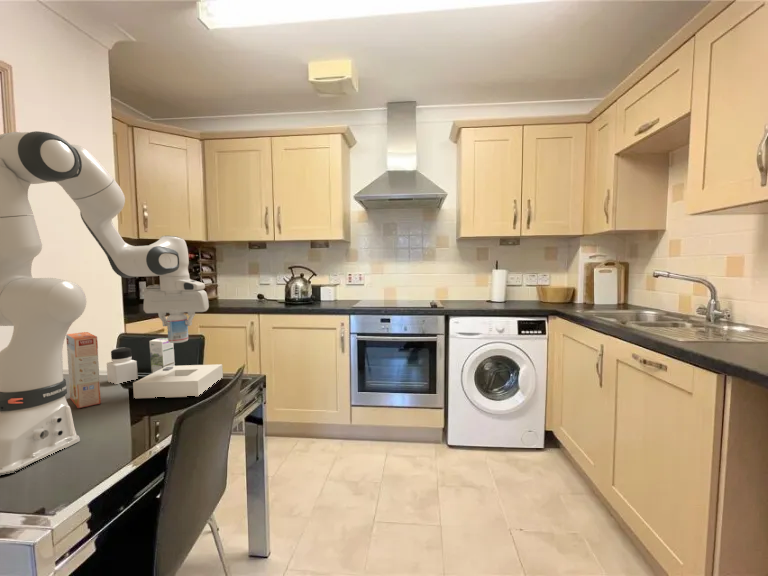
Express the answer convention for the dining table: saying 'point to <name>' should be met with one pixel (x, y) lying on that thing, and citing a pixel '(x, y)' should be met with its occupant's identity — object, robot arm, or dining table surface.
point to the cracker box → (83, 369)
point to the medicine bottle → (121, 366)
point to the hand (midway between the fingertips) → (177, 325)
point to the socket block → (178, 381)
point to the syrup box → (161, 354)
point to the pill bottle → (177, 326)
